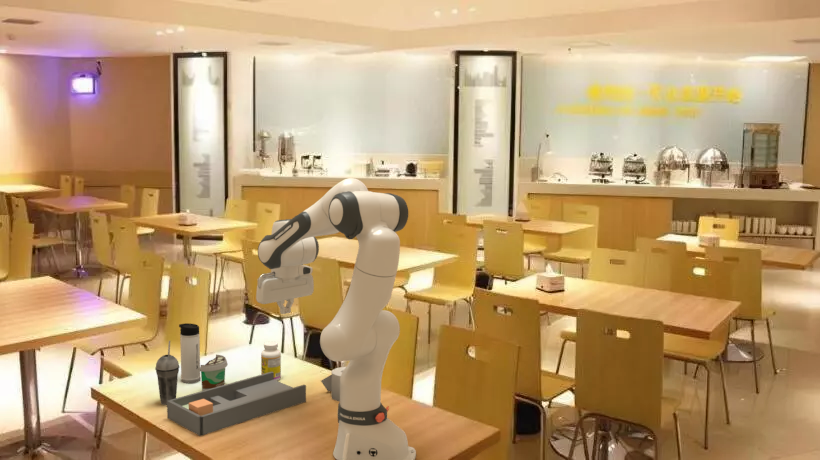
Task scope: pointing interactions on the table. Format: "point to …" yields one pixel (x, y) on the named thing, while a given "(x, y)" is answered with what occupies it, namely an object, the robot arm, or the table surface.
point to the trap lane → (235, 403)
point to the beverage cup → (167, 376)
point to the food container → (213, 373)
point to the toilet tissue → (334, 383)
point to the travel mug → (190, 353)
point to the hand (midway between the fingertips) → (285, 313)
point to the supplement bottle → (271, 360)
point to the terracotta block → (201, 407)
